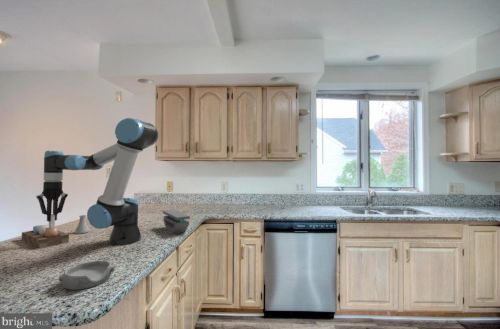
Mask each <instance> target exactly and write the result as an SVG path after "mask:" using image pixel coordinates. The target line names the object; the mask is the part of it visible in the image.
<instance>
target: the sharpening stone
mask: <svg viewBox="0 0 500 329" xmlns="http://www.w3.org/2000/svg"><path fill="white" fill-rule="evenodd" d="M162 214H164V215H165V216H164V215H163V222H164V227H165V230H166V231H167V230H168V231H167V232H169V233H170V232H171V234H172V235H173V234H174V235H175V234H180V233H186V231H187V229H188V227H189V226H190V221H189V220H190V217H191V216H190V215H189V214H186V213H183V212H180V211H179V210H176V209H170V210H163V211H162Z"/></svg>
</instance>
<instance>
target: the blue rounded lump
mask: <svg viewBox="0 0 500 329" xmlns="http://www.w3.org/2000/svg"><path fill="white" fill-rule="evenodd" d="M41 225H42V224H41ZM41 225H35V226H33V227H32V231H33V233H38V232H39V226H41Z"/></svg>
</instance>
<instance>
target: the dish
mask: <svg viewBox="0 0 500 329" xmlns="http://www.w3.org/2000/svg"><path fill="white" fill-rule="evenodd" d="M115 270H116V265H115V264H113V265H112V262H110V261H108V260H101V259H99V260H92V261H87V262H81V263H77V264H76V265H75V266H70V267H68V268H67V269H66V270H65V271H64V272H63V273H60V275H59V278H58V281H59V282H61V283H62V287H63V288H64V289H67V290H73V291H75V290H76V291H77V290H83V289H89V288H92V287H96V286H99V285H100V284H102V283H105V282H106V281H108V280H109V279H110V277H111V275H112V273H113V272H115Z"/></svg>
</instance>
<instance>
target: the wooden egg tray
mask: <svg viewBox="0 0 500 329" xmlns="http://www.w3.org/2000/svg"><path fill="white" fill-rule="evenodd" d="M21 241H23V242H25V243H28V244H30V245H32V246H34V247H36V248H38V249H42V248H48V247H52V246H57V245H62V244H66V243H70V234H69V233H66V232H63V231H61V230H58V236H56V237H50V238H45V235H41V236H40V235H39V232H38V233H33V230H28V231H27V230H26V231H22V232H21Z"/></svg>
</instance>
